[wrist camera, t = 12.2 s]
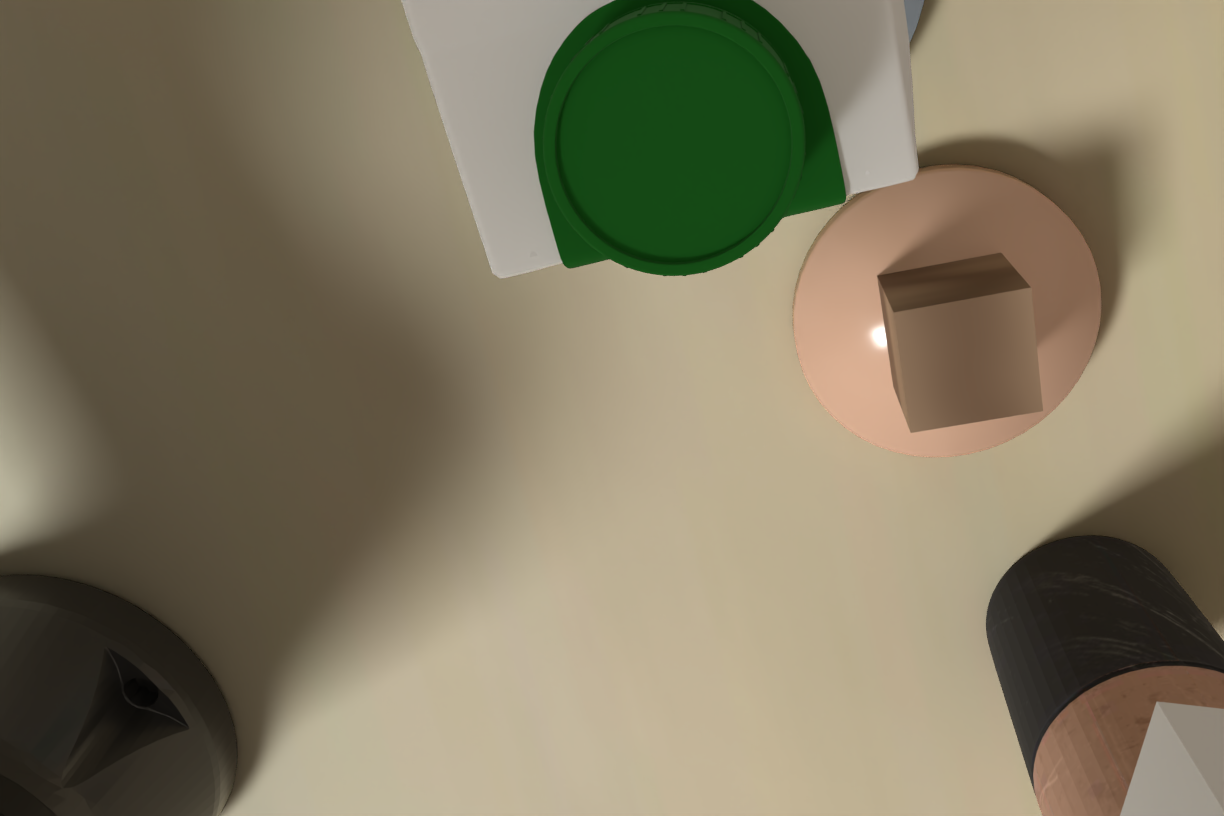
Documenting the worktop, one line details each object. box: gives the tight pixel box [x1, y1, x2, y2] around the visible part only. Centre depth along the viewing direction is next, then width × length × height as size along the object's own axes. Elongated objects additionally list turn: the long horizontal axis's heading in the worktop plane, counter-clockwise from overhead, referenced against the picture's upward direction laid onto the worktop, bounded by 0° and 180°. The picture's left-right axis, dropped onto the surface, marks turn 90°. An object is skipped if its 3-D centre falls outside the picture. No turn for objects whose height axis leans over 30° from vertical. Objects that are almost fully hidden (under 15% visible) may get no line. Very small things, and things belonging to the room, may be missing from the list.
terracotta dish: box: [793, 164, 1102, 457], centre depth 40 cm, size 10×10×1 cm
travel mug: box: [986, 536, 1224, 816], centre depth 35 cm, size 8×8×20 cm
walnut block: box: [877, 253, 1043, 433], centre depth 37 cm, size 4×4×4 cm
